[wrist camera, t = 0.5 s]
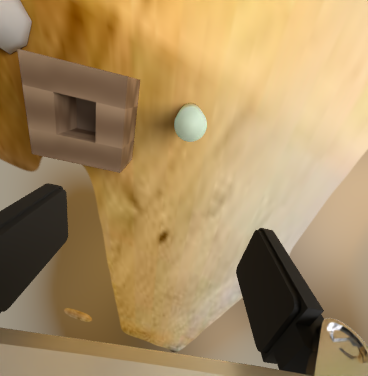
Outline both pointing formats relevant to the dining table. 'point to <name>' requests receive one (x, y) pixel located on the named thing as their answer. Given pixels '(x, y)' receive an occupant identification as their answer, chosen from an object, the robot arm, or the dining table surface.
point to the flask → (13, 25)
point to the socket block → (79, 111)
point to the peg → (190, 123)
